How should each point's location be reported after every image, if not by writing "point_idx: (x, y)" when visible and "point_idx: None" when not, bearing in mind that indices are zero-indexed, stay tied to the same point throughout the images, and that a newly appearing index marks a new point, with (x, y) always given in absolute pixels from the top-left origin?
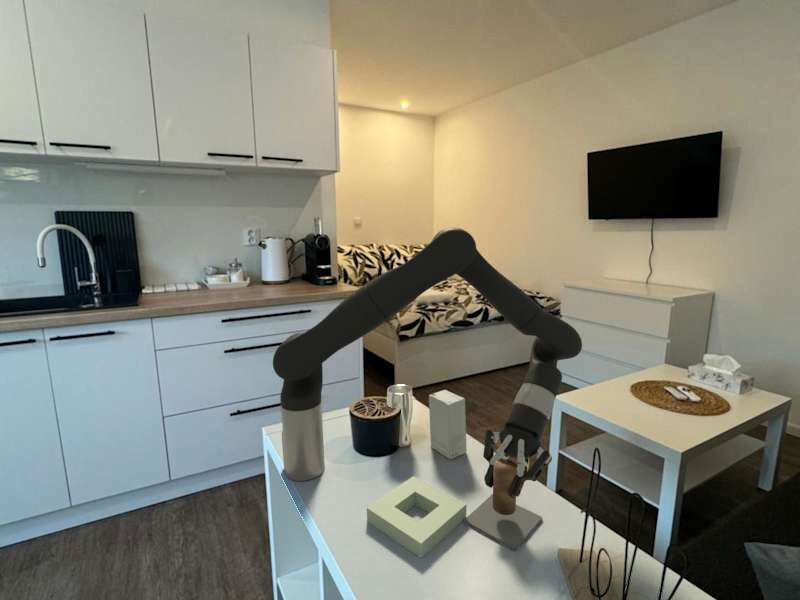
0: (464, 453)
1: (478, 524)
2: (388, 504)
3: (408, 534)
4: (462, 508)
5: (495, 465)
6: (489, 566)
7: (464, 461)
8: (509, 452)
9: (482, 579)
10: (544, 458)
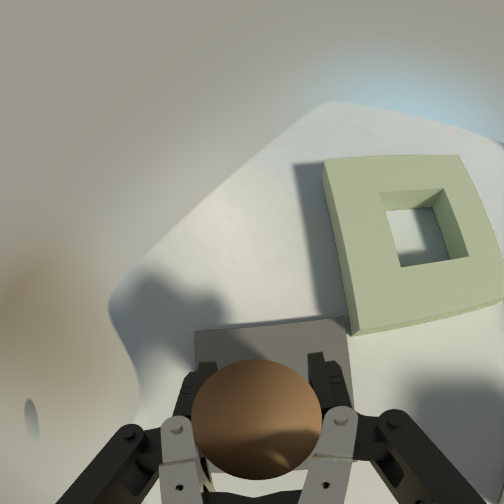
0: (500, 500)
1: (307, 332)
2: (453, 185)
3: (358, 158)
4: (356, 310)
5: (295, 383)
6: (216, 259)
7: (486, 485)
8: (273, 501)
9: (209, 227)
10: (65, 499)
